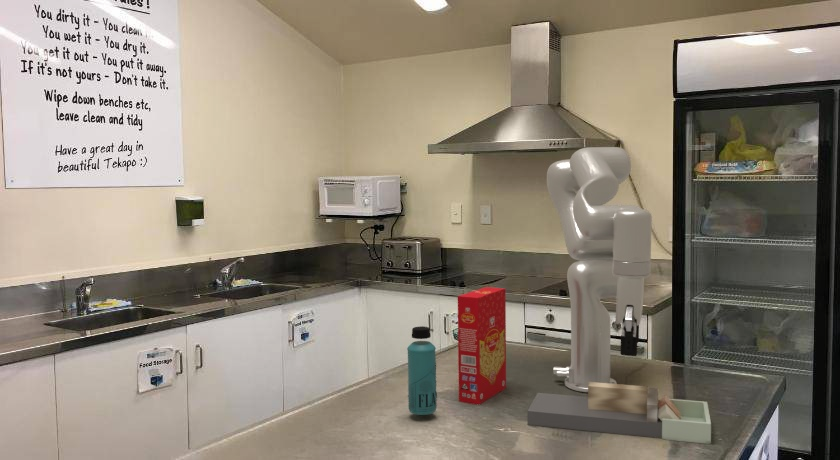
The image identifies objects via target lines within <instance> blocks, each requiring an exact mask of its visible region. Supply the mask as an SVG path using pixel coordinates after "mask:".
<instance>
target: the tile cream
mask: <svg viewBox="0 0 840 460" xmlns="http://www.w3.org/2000/svg"><path fill="white" fill-rule="evenodd" d="M658 418H659V419H660V420H661V421H662V418H665V419H676V420H680V419H679V418H678V417H677V416H676V415H675V414H674V413H673V411H672V410H671V409H670V408H669V407H668V406H667V405H666V404H665V405H664V406H662V407H661V408H660V409H658Z"/></svg>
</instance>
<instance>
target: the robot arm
mask: <svg viewBox="0 0 840 460" xmlns="http://www.w3.org/2000/svg"><path fill="white" fill-rule="evenodd" d="M631 169H632V162H631V157H630V155H629V154H628V152H627V151H626V150H625V149H624V148H621V147H620V146H619V147H617V146H597V147H596V146H594V147H593V146H592V147H591V146H590V147H589V146H588V147H583V148H580V149H578V150H576V151H574V153H572V154H571V157H570V159H561V160H558V161H554V162H553V163H551V164H550V165H549V167H548V168H547V172H546V186H547V191H548V195H549V198H550V200H551V202H552V204H553V206H554V208H555V210H556V211H557V213H558V215H559V220H560V224H561V227H562V229H561V230H562V233H563V238H564V243H565V247H566V250H567V253H568V255H569V256H570V258H571V259H573V260H576V261H575V262H572V264H570V265H569V267H568V269H567V273H566V275H567V276H566V278H567V279H566V280H567V286H568V292H569V300H570V337H571V338H570V366H565V367H562V366H553V370H552V371H553V374H554V375H556V377H566V378H564V385H565V387H567V388H568V389H570V390H573V391H577V392H581V393H582V392H583V393H588V385H589V382H596V383H609V384H618V383H617V381H616V380H615V379H614V378H611V315H610V313H609V310H608V309H607V308H606V306H604V304H603V303H602V301H601V299H611V298H615V299H616V300H615V302H616V305H615V324H616V325H620V324H621V325H622V326H621V327H622V329H621V335H620V355H621V356H626V357H627V356H629V357H631V356H632V357H637V354H638V343H639V337H640V324H641V321H642V314H643V306H644V295H645V279H647V278H650V277H651V270H652V269H651V267H652V266H651V262H652V261H651V258H652V225H653V223H652V221H653V220H652V213H651V212H650V211H649V210H646V209H644V208H643V209H642V207H640V206H638V205H633V204H625V205H624V204H621V205H618V204H613V205H612V204H610V205H608V204H607V203H609V202H610V201H612V200H613V199H614V198H615V197H616V195H617V194H618V193H619V192H618V191H619V186H620V185H621V184H622V183H623V182H625V181H627V179H628V177H629V176H630V173H631V171H632V170H631ZM605 204H607V205H605Z"/></svg>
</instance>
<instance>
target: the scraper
mask: <svg viewBox="0 0 840 460" xmlns="http://www.w3.org/2000/svg"><path fill="white" fill-rule="evenodd" d="M587 397H588V409H594V410H605V411H616V412H627V413H638V414H647V422H656V423H657V417H658V400H659V388H658V387H649V386H644V385H635V384H634V385H633V384H621V383H620V384H619V383H617V384H609V383H596V382H589V385H588V392H587Z"/></svg>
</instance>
